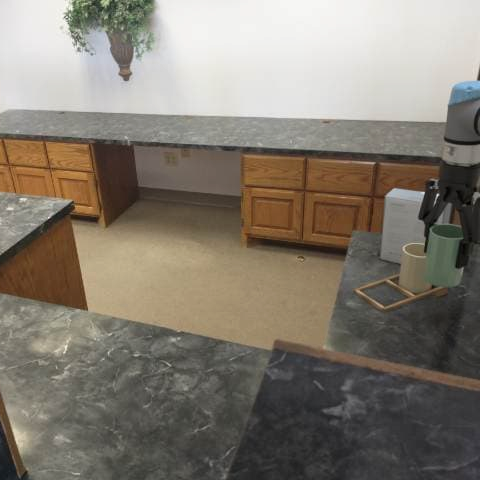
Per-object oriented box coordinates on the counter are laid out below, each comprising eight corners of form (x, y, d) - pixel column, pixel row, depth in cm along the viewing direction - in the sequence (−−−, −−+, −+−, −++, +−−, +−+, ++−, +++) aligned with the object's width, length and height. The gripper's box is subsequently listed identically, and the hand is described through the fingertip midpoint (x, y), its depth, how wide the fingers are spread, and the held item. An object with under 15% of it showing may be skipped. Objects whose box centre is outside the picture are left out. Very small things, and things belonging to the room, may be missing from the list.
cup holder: (446, 294, 130) (447, 285, 129) (383, 317, 124) (384, 309, 123) (413, 276, 139) (414, 268, 138) (353, 297, 133) (353, 289, 132)
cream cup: (437, 293, 131) (443, 251, 125) (414, 301, 128) (420, 260, 123) (413, 280, 137) (418, 240, 132) (391, 287, 135) (396, 247, 129)
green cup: (468, 281, 114) (478, 233, 108) (443, 290, 111) (451, 242, 106) (440, 266, 120) (447, 220, 115) (415, 275, 118) (421, 229, 113)
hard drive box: (443, 261, 144) (454, 196, 135) (435, 273, 139) (446, 206, 130) (387, 248, 153) (394, 186, 145) (377, 259, 149) (384, 195, 140)
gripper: (407, 152, 111) (396, 245, 121) (495, 178, 94) (473, 284, 104) (433, 145, 113) (420, 237, 123) (523, 169, 96) (500, 274, 106)
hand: (444, 258), depth 113 cm, fingers closed on green cup, 8 cm apart
